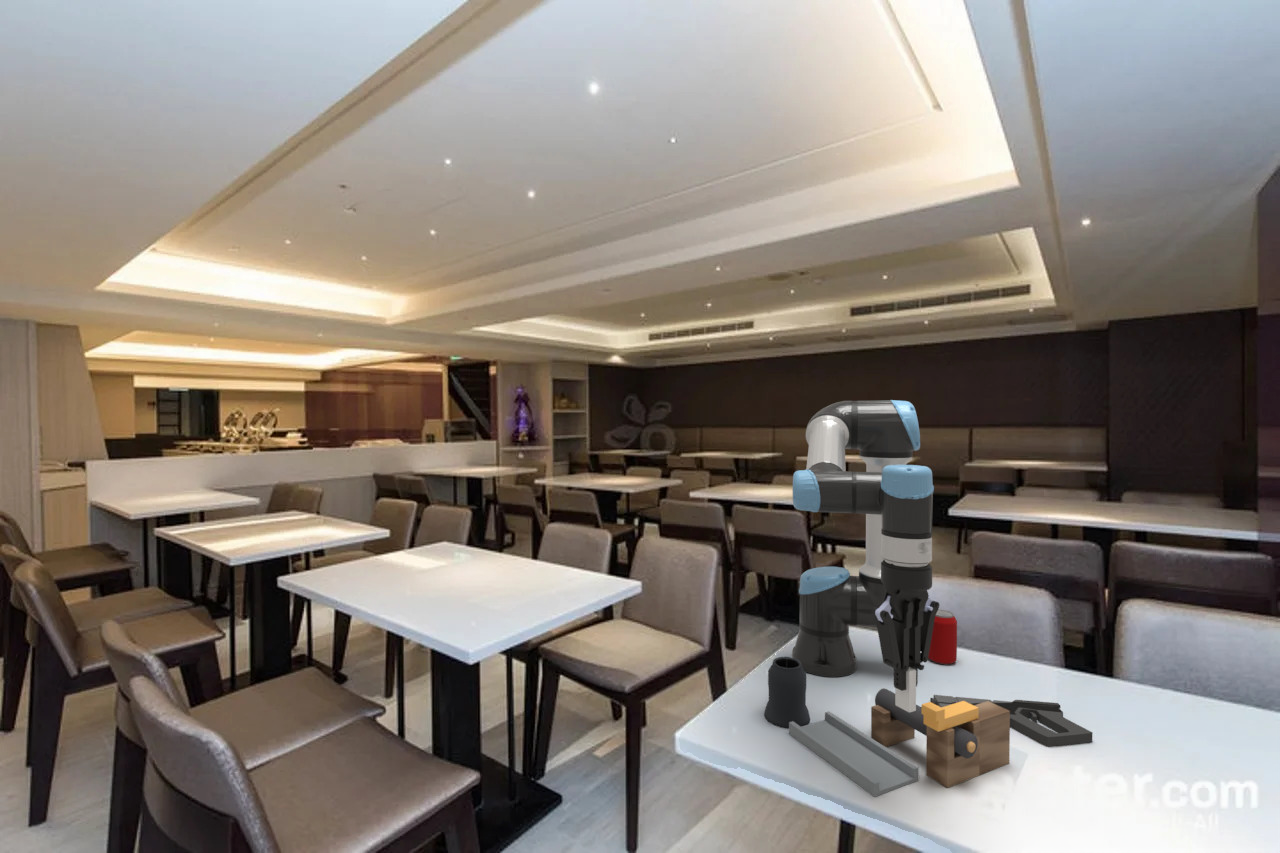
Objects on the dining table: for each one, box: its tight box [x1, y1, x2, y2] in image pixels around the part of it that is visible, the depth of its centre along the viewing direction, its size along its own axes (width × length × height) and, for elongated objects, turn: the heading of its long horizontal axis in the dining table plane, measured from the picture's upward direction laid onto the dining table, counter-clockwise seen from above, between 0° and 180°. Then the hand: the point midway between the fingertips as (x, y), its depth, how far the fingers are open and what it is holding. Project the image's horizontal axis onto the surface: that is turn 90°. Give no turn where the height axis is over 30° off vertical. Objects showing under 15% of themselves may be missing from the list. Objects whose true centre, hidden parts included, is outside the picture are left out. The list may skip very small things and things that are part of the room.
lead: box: [874, 688, 978, 758], centre depth 106 cm, size 19×4×4 cm, turn 25°
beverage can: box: [928, 608, 958, 665], centre depth 147 cm, size 7×7×12 cm
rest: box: [870, 705, 916, 748], centre depth 112 cm, size 3×8×6 cm, turn 115°
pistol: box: [929, 694, 1093, 748], centre depth 117 cm, size 2×26×15 cm
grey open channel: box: [788, 710, 919, 797], centre depth 106 cm, size 21×10×2 cm, turn 25°
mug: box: [763, 656, 811, 730], centre depth 121 cm, size 12×9×11 cm
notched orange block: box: [921, 701, 979, 732], centre depth 100 cm, size 3×10×3 cm, turn 115°
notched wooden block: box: [925, 701, 1011, 789], centre depth 102 cm, size 4×16×9 cm, turn 115°
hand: (905, 707), depth 95 cm, fingers closed
